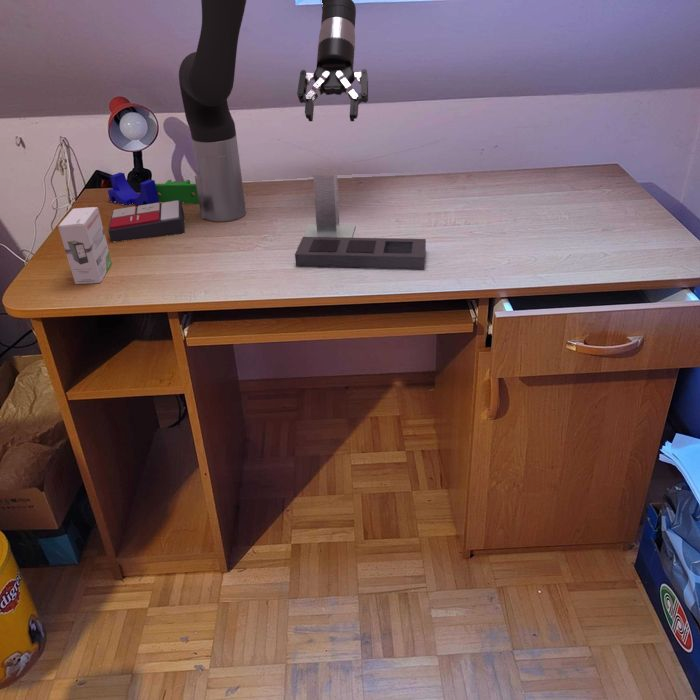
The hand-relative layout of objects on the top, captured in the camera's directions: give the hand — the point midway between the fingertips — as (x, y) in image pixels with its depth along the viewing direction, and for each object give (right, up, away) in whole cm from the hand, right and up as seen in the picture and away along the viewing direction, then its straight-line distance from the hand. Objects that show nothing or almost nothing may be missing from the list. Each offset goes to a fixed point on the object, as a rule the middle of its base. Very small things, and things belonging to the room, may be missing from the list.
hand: (330, 119), depth 135 cm
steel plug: (-1, -23, +2) cm, 23 cm away
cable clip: (-47, -12, +23) cm, 54 cm away
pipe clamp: (-36, -11, +23) cm, 45 cm away
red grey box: (-40, -20, +10) cm, 46 cm away
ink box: (-45, -32, -8) cm, 55 cm away
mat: (-1, -23, +3) cm, 23 cm away
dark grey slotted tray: (+6, -29, -7) cm, 30 cm away
